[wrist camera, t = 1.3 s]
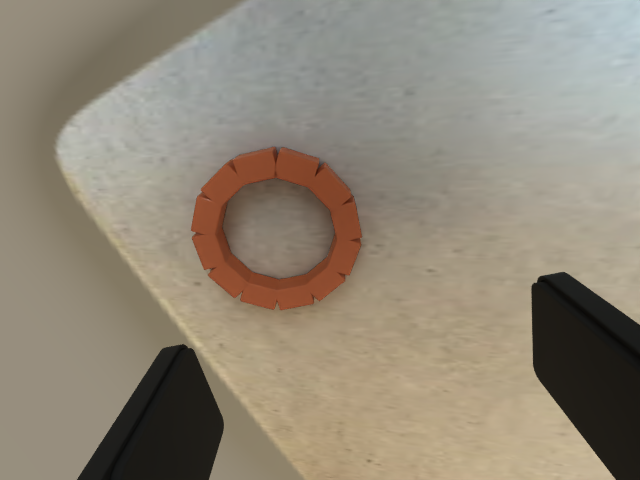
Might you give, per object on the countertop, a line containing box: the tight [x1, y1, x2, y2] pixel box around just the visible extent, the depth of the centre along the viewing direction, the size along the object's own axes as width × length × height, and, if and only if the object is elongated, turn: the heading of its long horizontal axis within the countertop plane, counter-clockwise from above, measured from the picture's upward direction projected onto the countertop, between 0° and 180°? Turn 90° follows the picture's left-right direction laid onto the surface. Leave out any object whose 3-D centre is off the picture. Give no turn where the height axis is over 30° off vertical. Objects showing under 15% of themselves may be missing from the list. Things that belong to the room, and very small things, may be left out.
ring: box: [191, 147, 362, 310], centre depth 19 cm, size 9×9×1 cm
